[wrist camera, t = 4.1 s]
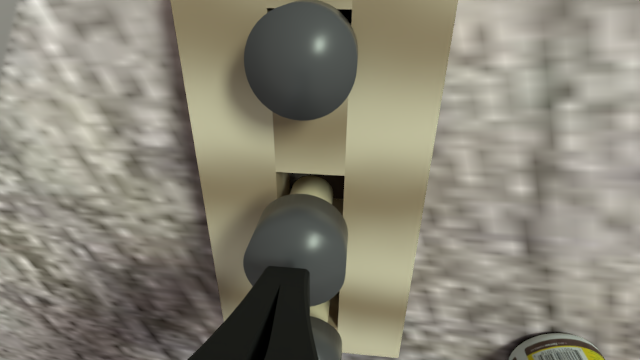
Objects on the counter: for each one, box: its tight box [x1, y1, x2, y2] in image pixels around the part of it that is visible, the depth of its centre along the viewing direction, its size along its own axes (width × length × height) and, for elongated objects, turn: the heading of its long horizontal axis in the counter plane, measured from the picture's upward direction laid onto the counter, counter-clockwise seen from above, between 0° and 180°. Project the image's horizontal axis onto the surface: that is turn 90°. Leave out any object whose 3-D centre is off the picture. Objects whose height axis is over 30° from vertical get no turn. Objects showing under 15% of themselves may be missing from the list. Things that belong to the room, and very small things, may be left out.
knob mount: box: [170, 0, 458, 358], centre depth 18 cm, size 20×10×3 cm, turn 0°
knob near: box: [244, 0, 358, 121], centre depth 14 cm, size 4×4×5 cm
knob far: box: [310, 300, 342, 360], centre depth 18 cm, size 4×4×5 cm
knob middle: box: [243, 175, 348, 307], centre depth 15 cm, size 4×4×5 cm
